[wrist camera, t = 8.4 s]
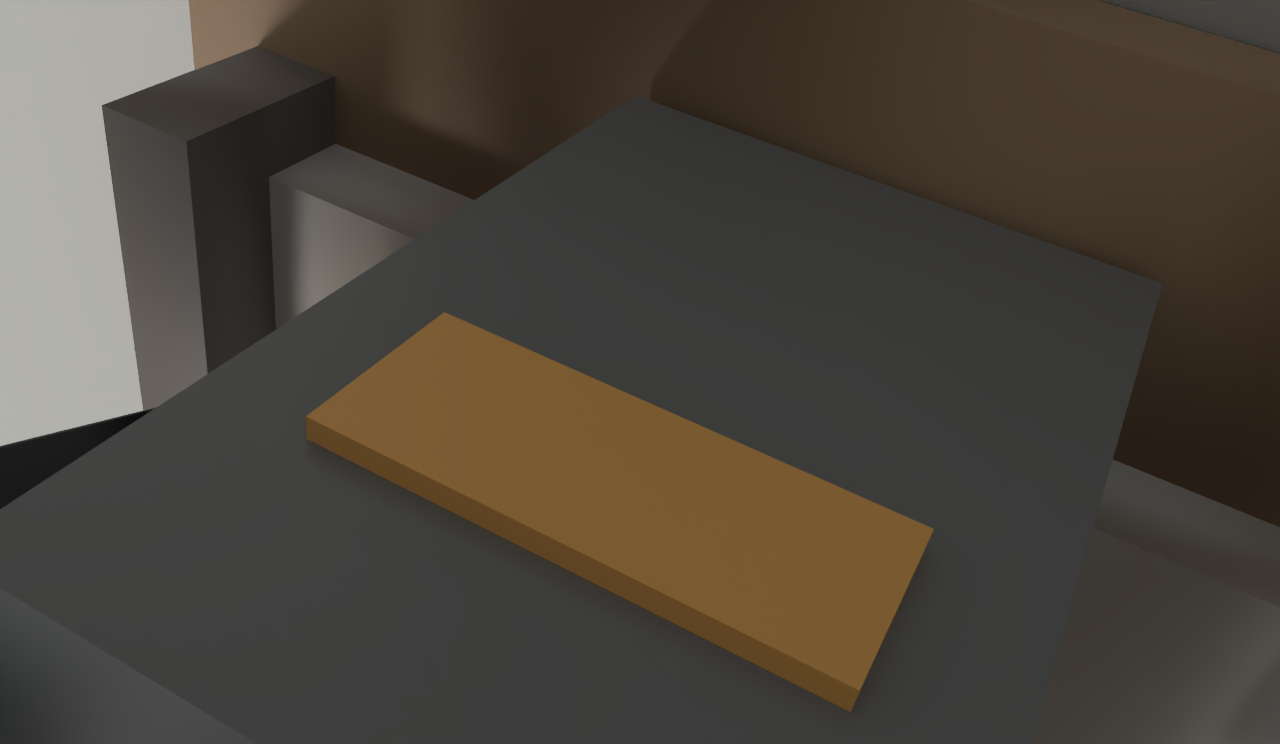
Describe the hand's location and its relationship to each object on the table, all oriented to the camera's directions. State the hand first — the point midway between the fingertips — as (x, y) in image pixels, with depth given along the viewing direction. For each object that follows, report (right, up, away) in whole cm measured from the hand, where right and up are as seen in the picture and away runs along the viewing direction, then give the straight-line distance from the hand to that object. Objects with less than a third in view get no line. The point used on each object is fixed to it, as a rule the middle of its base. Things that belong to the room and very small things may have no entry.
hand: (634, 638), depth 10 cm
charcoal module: (+2, +1, +2) cm, 2 cm away
